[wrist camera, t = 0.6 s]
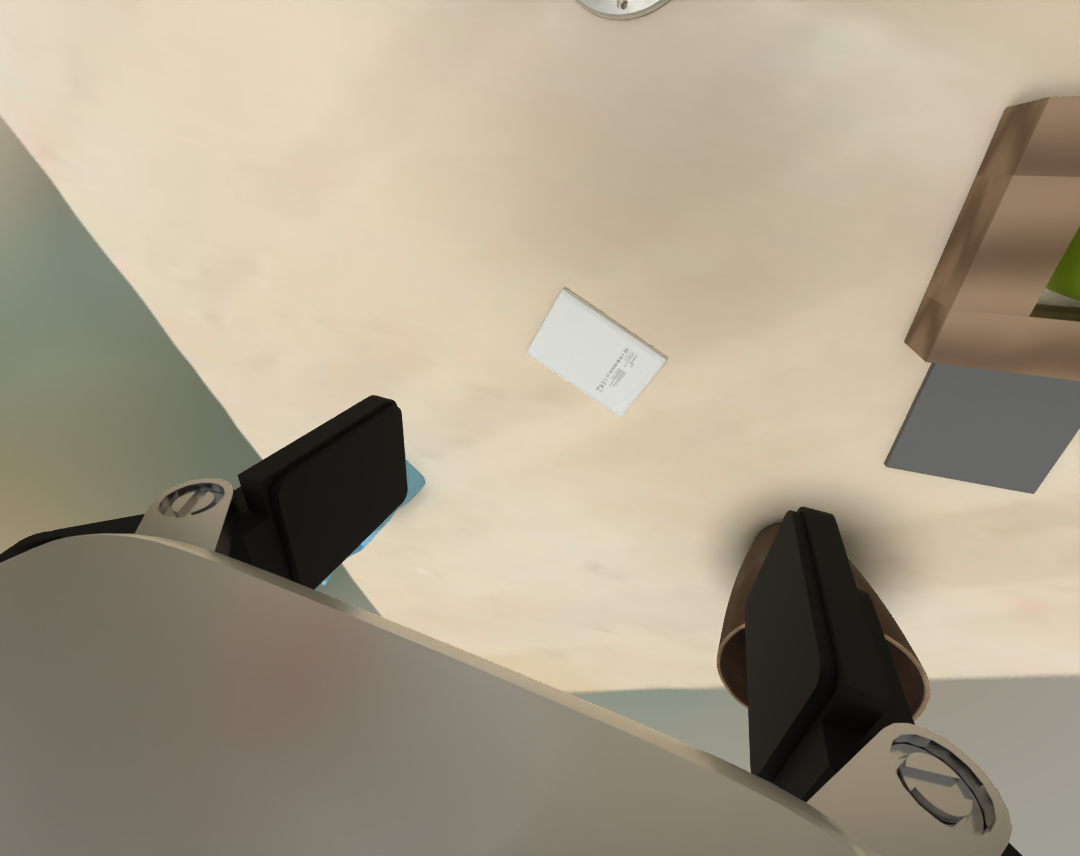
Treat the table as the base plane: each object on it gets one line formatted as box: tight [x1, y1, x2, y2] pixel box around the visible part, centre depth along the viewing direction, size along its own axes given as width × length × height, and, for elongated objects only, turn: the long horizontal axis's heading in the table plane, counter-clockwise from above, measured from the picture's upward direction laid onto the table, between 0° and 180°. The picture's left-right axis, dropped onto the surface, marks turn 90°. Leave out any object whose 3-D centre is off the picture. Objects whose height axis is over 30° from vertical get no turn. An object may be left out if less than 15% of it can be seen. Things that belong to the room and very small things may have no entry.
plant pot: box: [717, 523, 930, 721], centre depth 44 cm, size 15×15×16 cm
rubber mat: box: [884, 363, 1080, 494], centre depth 38 cm, size 11×11×1 cm
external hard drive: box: [526, 288, 667, 418], centre depth 48 cm, size 2×8×12 cm
